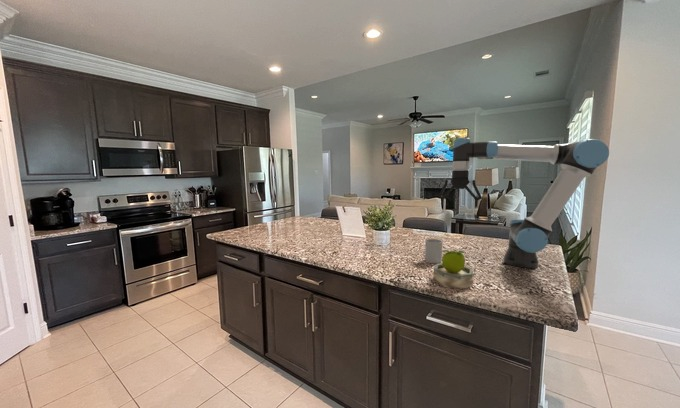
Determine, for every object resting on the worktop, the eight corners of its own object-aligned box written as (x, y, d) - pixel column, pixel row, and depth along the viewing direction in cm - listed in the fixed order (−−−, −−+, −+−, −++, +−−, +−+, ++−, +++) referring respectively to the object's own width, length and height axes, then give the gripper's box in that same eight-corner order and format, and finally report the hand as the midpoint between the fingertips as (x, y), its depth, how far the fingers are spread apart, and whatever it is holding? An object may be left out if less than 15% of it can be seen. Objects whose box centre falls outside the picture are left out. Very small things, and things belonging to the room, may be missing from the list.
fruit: (463, 277, 117) (464, 253, 116) (439, 273, 122) (440, 250, 121) (466, 270, 125) (467, 248, 124) (443, 267, 130) (444, 245, 129)
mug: (438, 264, 146) (439, 243, 144) (422, 261, 151) (423, 241, 149) (445, 258, 155) (446, 239, 154) (430, 256, 160) (431, 237, 159)
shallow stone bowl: (473, 277, 128) (473, 265, 127) (472, 291, 113) (473, 278, 113) (435, 272, 135) (436, 261, 134) (431, 284, 120) (431, 272, 120)
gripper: (488, 170, 139) (486, 213, 141) (435, 170, 149) (433, 210, 152) (489, 170, 132) (486, 215, 135) (433, 170, 143) (431, 212, 145)
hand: (458, 212), depth 143 cm, fingers open, 13 cm apart
